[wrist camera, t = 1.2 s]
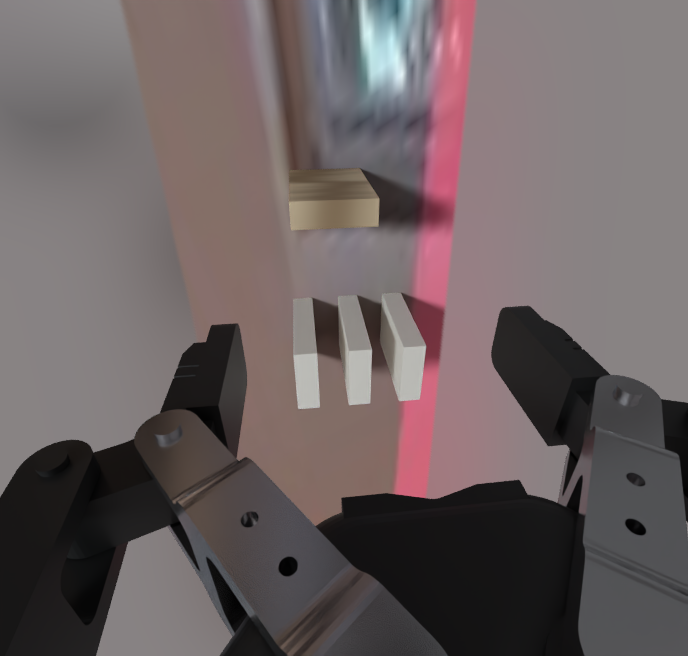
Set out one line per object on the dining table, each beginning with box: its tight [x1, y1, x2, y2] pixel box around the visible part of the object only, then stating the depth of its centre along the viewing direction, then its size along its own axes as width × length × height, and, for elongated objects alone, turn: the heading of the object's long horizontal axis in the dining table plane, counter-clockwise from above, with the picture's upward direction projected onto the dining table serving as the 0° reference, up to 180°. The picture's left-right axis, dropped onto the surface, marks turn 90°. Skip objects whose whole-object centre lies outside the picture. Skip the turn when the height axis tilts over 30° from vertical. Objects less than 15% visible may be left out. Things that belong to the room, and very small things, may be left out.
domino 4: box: [380, 293, 426, 401], centre depth 33 cm, size 5×2×8 cm, turn 0°
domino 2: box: [289, 168, 379, 230], centre depth 27 cm, size 5×2×8 cm, turn 90°
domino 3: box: [338, 295, 372, 405], centre depth 33 cm, size 5×2×8 cm, turn 0°
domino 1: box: [293, 298, 320, 409], centre depth 33 cm, size 5×2×8 cm, turn 0°
